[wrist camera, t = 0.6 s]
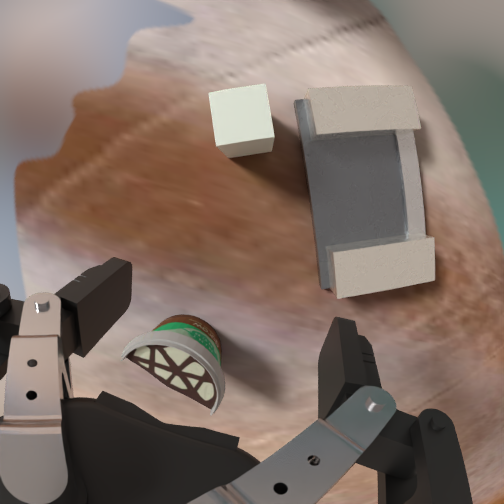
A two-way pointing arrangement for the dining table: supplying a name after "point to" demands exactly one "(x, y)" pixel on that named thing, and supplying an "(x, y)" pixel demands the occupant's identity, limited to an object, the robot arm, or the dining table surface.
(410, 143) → the rail plate
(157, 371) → the food container
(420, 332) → the dining table surface
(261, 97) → the block
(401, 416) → the robot arm
